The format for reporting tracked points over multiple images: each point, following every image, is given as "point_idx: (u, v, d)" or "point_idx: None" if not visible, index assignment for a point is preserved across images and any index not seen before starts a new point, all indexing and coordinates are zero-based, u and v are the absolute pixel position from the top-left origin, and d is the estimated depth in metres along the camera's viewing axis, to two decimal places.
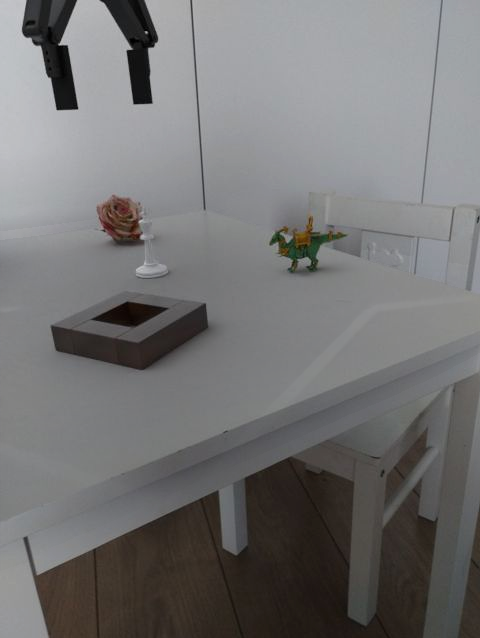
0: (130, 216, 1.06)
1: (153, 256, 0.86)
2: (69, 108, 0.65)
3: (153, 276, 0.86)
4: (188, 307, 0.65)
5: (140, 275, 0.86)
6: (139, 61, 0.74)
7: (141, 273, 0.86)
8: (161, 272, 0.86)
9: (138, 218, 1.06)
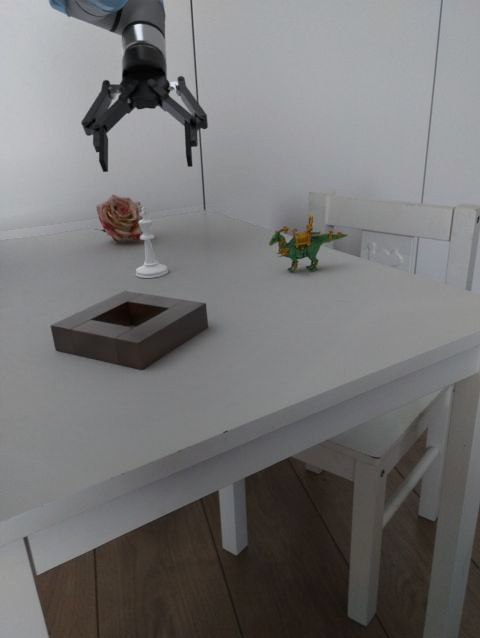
0: (130, 216, 1.06)
1: (153, 256, 0.86)
2: None
3: (153, 276, 0.86)
4: (188, 307, 0.65)
5: (140, 275, 0.86)
6: (106, 142, 0.93)
7: (141, 273, 0.86)
8: (161, 272, 0.86)
9: (138, 218, 1.06)
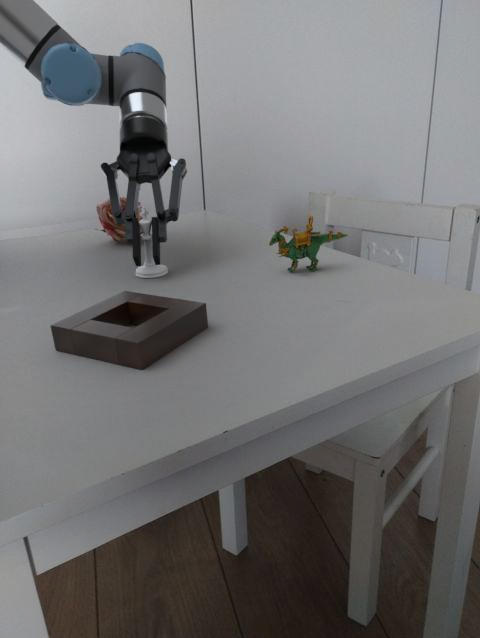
0: None
1: None
2: (159, 261, 0.84)
3: (153, 276, 0.86)
4: (188, 307, 0.65)
5: (140, 275, 0.86)
6: (139, 233, 0.85)
7: (141, 273, 0.86)
8: (161, 272, 0.86)
9: (138, 218, 1.06)
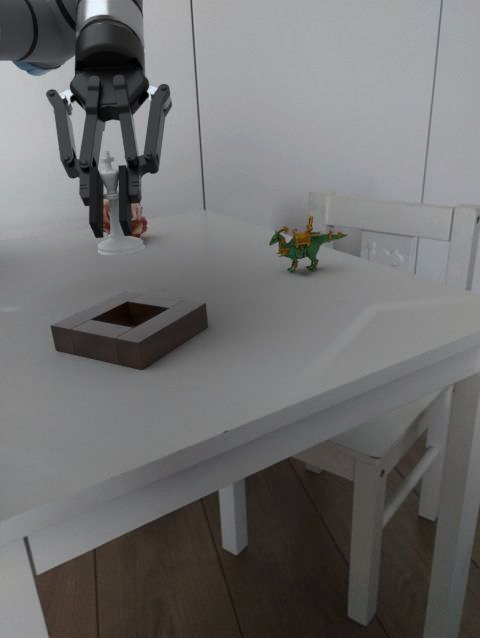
0: None
1: None
2: (130, 231, 0.57)
3: (122, 253, 0.59)
4: (188, 307, 0.65)
5: (103, 252, 0.59)
6: (101, 190, 0.58)
7: (104, 248, 0.59)
8: (134, 247, 0.59)
9: (138, 218, 1.06)
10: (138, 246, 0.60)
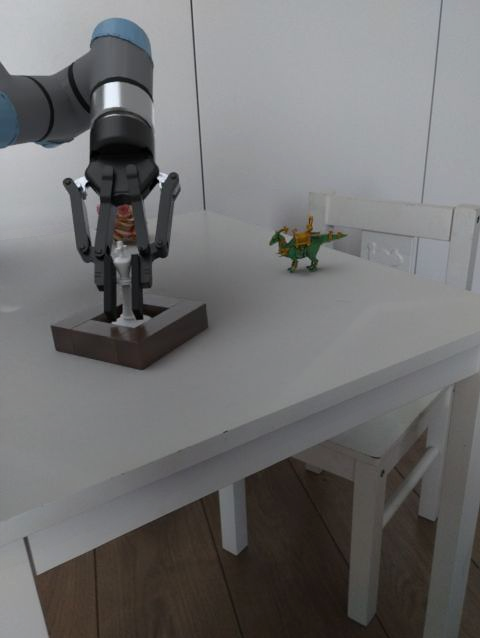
0: (130, 216, 1.06)
1: None
2: (142, 316, 0.61)
3: None
4: (188, 307, 0.65)
5: None
6: (115, 276, 0.62)
7: None
8: None
9: None
10: None
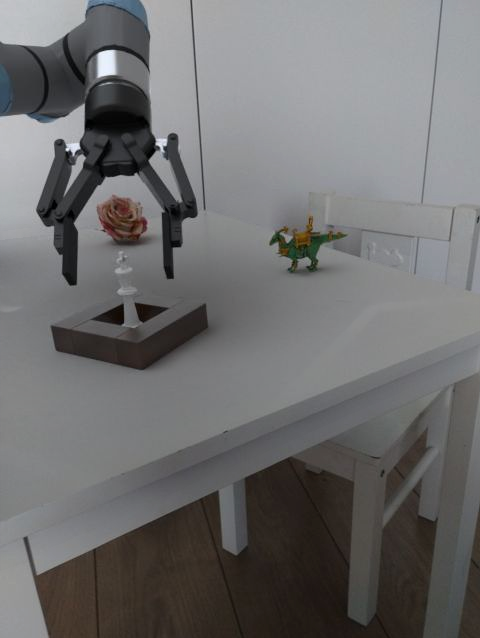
0: (130, 216, 1.06)
1: (135, 316, 0.64)
2: (173, 274, 0.60)
3: None
4: (188, 307, 0.65)
5: None
6: (75, 239, 0.61)
7: None
8: None
9: (138, 218, 1.06)
10: None
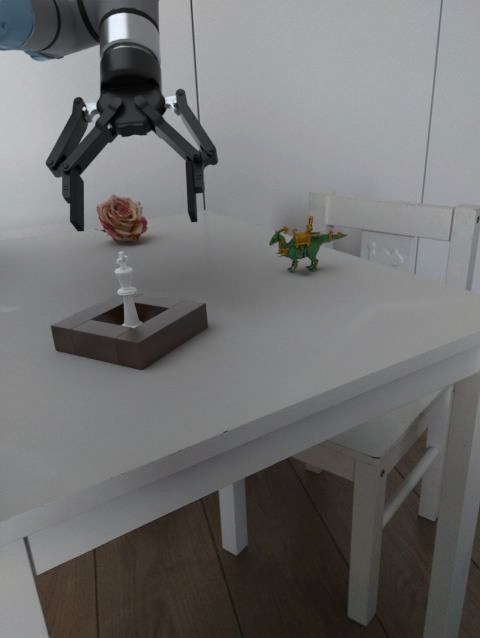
0: (130, 216, 1.06)
1: (135, 316, 0.64)
2: (196, 218, 0.67)
3: None
4: (188, 307, 0.65)
5: None
6: (81, 189, 0.68)
7: None
8: None
9: (138, 218, 1.06)
10: None
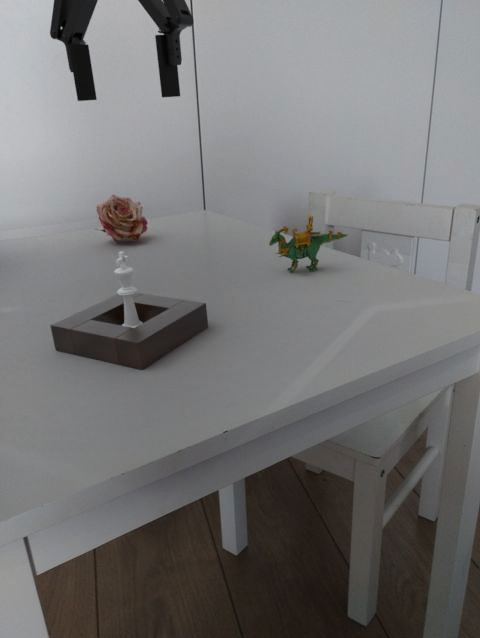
0: (130, 216, 1.06)
1: (135, 316, 0.64)
2: (177, 95, 0.69)
3: None
4: (188, 307, 0.65)
5: None
6: (85, 57, 0.73)
7: None
8: None
9: (138, 218, 1.06)
10: None
